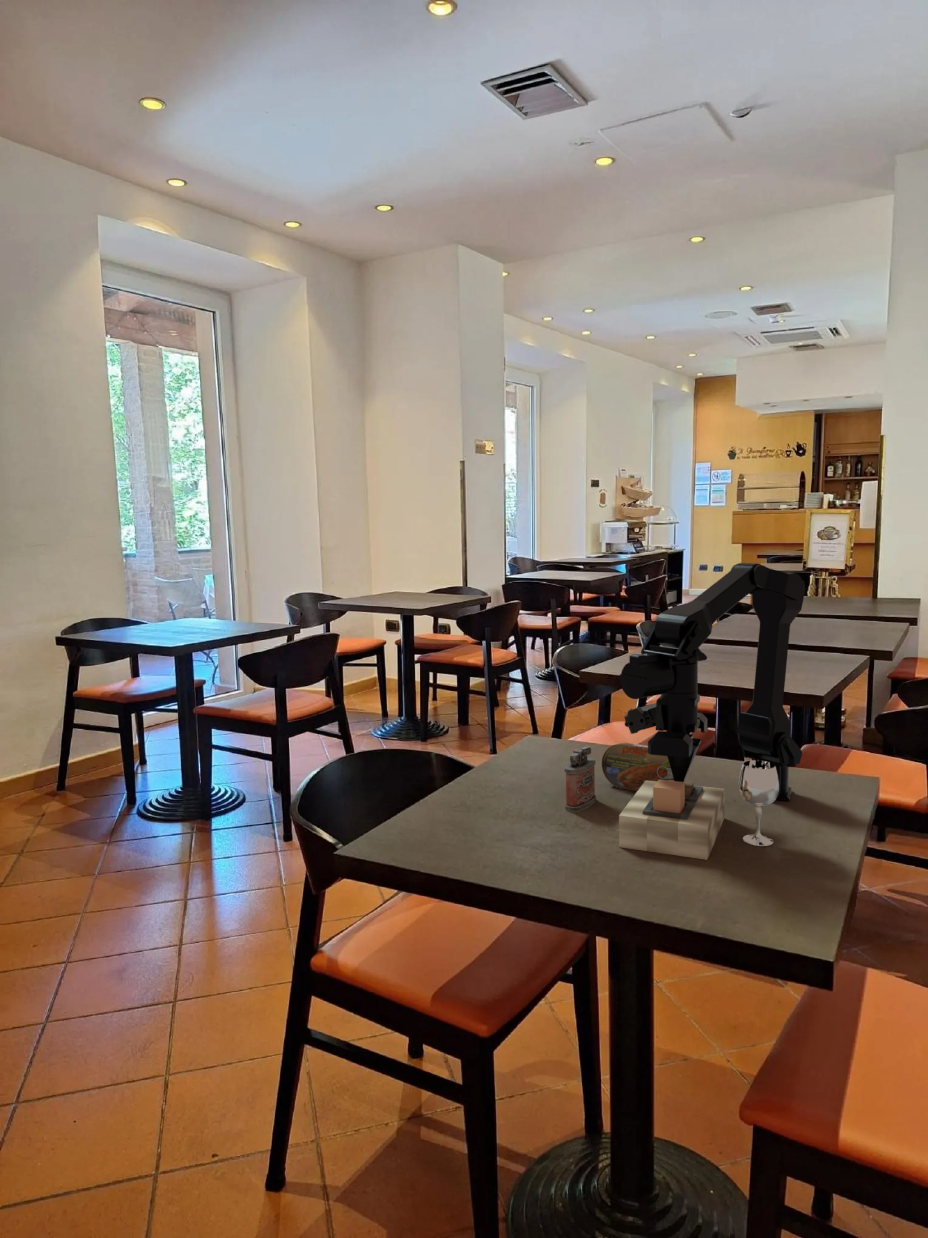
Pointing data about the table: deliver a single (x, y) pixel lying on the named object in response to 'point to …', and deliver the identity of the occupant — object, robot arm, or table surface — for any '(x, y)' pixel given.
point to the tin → (634, 766)
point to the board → (673, 823)
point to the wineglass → (758, 793)
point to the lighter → (580, 780)
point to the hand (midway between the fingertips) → (678, 784)
